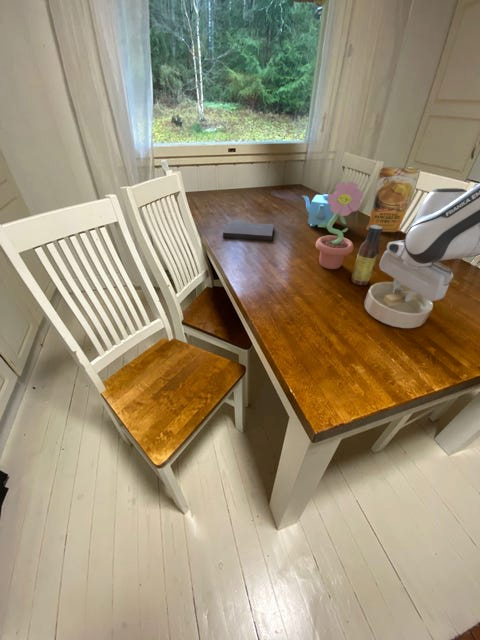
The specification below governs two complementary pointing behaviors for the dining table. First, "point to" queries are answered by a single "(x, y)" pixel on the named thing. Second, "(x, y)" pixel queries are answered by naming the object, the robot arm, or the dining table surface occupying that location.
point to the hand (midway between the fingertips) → (400, 296)
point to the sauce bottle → (367, 256)
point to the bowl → (396, 307)
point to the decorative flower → (337, 246)
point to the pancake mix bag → (393, 197)
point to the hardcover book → (249, 230)
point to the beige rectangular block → (397, 298)
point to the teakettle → (318, 210)
